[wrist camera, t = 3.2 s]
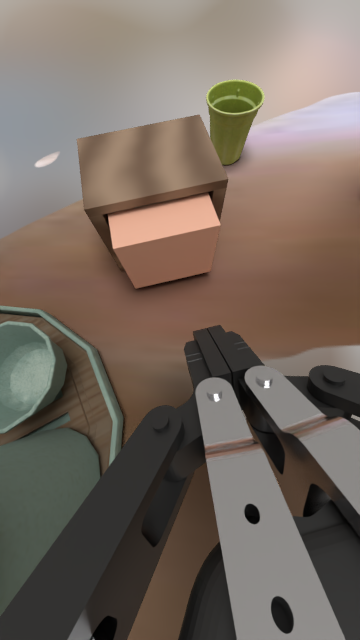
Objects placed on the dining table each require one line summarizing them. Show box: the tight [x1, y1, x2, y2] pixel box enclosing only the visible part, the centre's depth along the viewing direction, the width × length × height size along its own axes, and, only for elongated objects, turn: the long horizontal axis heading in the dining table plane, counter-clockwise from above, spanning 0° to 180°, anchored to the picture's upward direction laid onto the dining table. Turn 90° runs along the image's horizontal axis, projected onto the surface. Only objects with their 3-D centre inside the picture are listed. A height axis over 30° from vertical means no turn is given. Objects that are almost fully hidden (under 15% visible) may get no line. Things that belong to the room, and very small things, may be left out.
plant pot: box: [206, 80, 264, 165], centre depth 35 cm, size 9×9×9 cm
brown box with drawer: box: [77, 115, 228, 271], centre depth 28 cm, size 16×12×12 cm
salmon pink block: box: [108, 193, 221, 289], centre depth 26 cm, size 12×10×9 cm
